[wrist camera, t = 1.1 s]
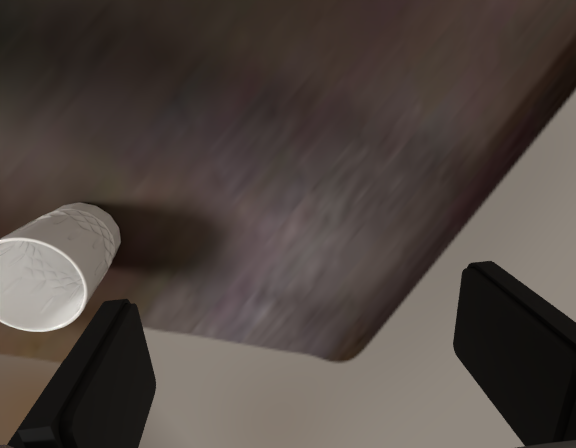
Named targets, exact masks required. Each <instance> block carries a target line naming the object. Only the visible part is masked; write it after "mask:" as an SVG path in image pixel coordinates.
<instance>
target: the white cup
mask: <svg viewBox="0 0 576 448" xmlns="http://www.w3.org/2000/svg"><path fill="white" fill-rule="evenodd" d="M120 243H121V238H120V231H119V227H118V226H117V224H116V223H115V221H114V220H113V218H112V217H111V215H110V214H108V213H106V212H105V211H103V210H102V209H100V208H99V207H97V206H95V205H90V204H85V203H80V202H78V203H74V204H69V205H64V206H62V207H60V208H58V209H56V210H55V211H53V212H50V213H48V214H45V215H43V216H41V217H39V218H38V219H36V220H33V221H31V222H29V223H28V224H26V225H24V226H22V227H20V228H19V229H17V230H15V231H13V232H11V233H10V234H8V235H6V236H4V237H2V238H0V322H2V323H4V324H6V325H8V326H11V327H14V328H17V329H20V330H25V331H33V332H44V331H51V330H56V329H59V328H62V327H64V326H66V325H68V324H70V323H71V322H73V321H74V320H75V319H76V318H77V317H78V316H79V315H80V314H81V312H82V311H83V309H84V308H85V306H86V304H87V303H88V301H89V300H90V298H91V296H92V295H93V293H94V292H95V290H96V288H97V287H98V285H99V284H100V282H101V280H102V279H103V277H104V275H105V274H106V272H107V270H108V268H109V267H110V265H111V263H112V260H113V258H114V257H115V255H116V253H117V251H118V248H119V246H120Z"/></svg>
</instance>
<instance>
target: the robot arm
mask: <svg viewBox="0 0 576 448" xmlns="http://www.w3.org/2000/svg"><path fill="white" fill-rule="evenodd" d="M453 347H454V351H455V353H456V355H457V357H458V358H459V359H460V361H461V362H462V363H463V365H464V366H465V367H466V369H467V370H468V371H469V373H470V374H471V375H472V376H473V378H474V379H475V381H476V382H477V383H478V385H479V386H480V387H481V388H482V390H483V391H484V392H485V394H486V395H487V396H488V398H489V399H490V400H491V402H492V403H493V404H494V405H495V407H496V408H497V410H498V411H499V412H500V413H501V415H502V416H503V418H504V419H505V420H506V421H507V423H508V424H509V425H510V427H511V428H512V429H513V431H514V432H515V433H516V435H517V436H518V437H519V438H520V440H521V441H522V442H523V444H524V445H525V446H524V447H517V448H576V322H574V321H573V320H572V319H570V318H569V317H568V316H566V315H565V314H564V313H562V312H561V311H560V310H558V309H557V308H555V307H554V306H553V305H551V304H550V303H549V302H547V301H546V300H544V299H543V298H542V297H540V296H539V295H538V294H536V293H535V292H534V291H532V290H531V289H529V288H528V287H527V286H525V285H524V284H523V283H521V282H520V281H518V280H517V279H516V278H515V277H513V276H512V275H510V274H509V273H508V272H506V271H505V270H504V269H502V268H501V267H500V266H498V265H497V264H495V263H494V262H492V261H485V262H475V263H471V264H469V265H468V267H467V268H466V269H464V270H463V272H462V278H461V287H460V294H459V302H458V309H457V318H456V325H455V333H454V341H453ZM155 380H156V379H155V375H154V371H153V367H152V363H151V359H150V355H149V351H148V347H147V343H146V340H145V335H144V331H143V327H142V323H141V319H140V315H139V311H138V308H137V305H136V304H135V303H134V304H130V302H129V300H128V299H121V300H112V301H105V302H104V303H103V304H102V305H101V307H100V308H99V310H98V311H97V313H96V314H95V316H94V317H93V319H92V320H91V322H90V323H89V325H88V326H87V328H86V329H85V331H84V332H83V334H82V335H81V337H80V338H79V339H78V341H77V342H76V344H75V345H74V347H73V348H72V350H71V351H70V353H69V354H68V356H67V357H66V359H65V360H64V361H63V362H62V364H61V365H60V367H59V368H58V370H57V371H56V373H55V374H54V376H53V377H52V379H51V380H50V382H49V383H48V385H47V386H46V388H45V389H44V391H43V392H42V394H41V395H40V397H39V398H38V400H37V401H36V403H35V404H34V406H33V407H32V408H31V410H30V411H29V413H28V414H27V416H26V417H25V419H24V420H23V422H22V423H21V425H20V426H19V428H18V429H17V431H16V432H15V434H14V435H13V437H12V438H11V440H10V441H9V443H8V444H7V445H0V448H138V446H139V443H140V440H141V437H142V433H143V430H144V427H145V423H146V420H147V417H148V414H149V410H150V407H151V404H152V401H153V398H154V395H155V389H156V381H155Z"/></svg>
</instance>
